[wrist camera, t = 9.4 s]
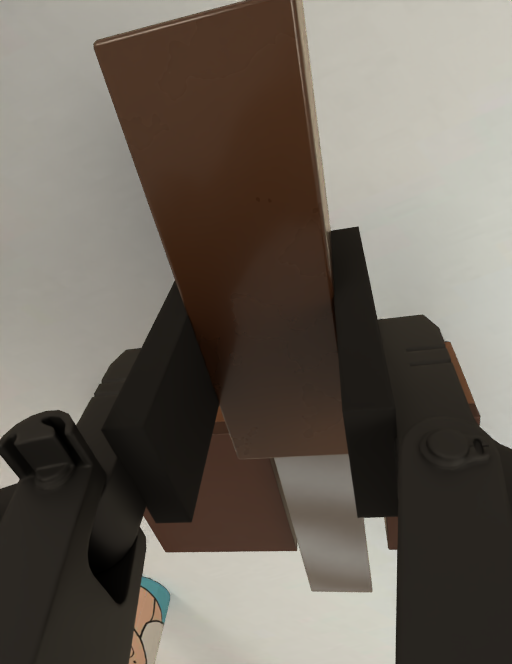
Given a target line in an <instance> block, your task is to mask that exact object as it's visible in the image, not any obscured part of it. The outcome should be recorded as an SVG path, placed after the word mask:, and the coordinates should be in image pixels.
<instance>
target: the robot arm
mask: <svg viewBox="0 0 512 664" xmlns="http://www.w3.org/2000/svg"><path fill="white" fill-rule="evenodd" d="M331 247H332V263H333V279H334V304H335V318H336V332H337V345H338V359H339V373H340V387H341V400H342V413H343V420H344V427H345V434H346V441H347V448H348V455H349V462H350V469H351V476H352V483H353V490H354V497H355V504H356V511H357V518H370V517H398V546H397V606H396V664H512V449H510V448H508V447H506V446H503V445H501V444H499V443H498V442H497V441H495V440H494V439H492V438H491V437H490V436H489V435H488V434H487V433H486V432H485V431H484V430H482V429H481V428H480V427H479V425H478V424H477V422H476V420H475V418H474V416H473V414H472V411H471V409H470V406H469V404H468V401H467V398H466V396H465V393H464V391H463V388H462V386H461V383H460V381H459V378H458V375H457V373H456V370H455V368H454V365H453V363H452V362H451V357H450V355H449V352H448V350H447V348H446V345H445V342H444V339H443V337H442V334H441V332H440V329H439V327H437V326H436V325H435V324H434V323H432V322H431V321H430V320H429V319H428V318H426V317H425V316H424V315H415V316H406V317H397V318H389V319H380V320H377V315H376V310H375V305H374V300H373V295H372V290H371V286H370V281H369V276H368V271H367V266H366V261H365V256H364V251H363V247H362V242H361V237H360V232H359V227H352V228H346V229H339V230H333V231H331ZM218 407H219V402H218V399H217V396H216V393H215V390H214V388H213V385H212V382H211V379H210V376H209V373H208V371H207V368H206V365H205V362H204V359H203V356H202V354H201V351H200V348H199V345H198V342H197V339H196V337H195V334H194V331H193V328H192V325H191V322H190V320H189V317H188V315H187V312H186V309H185V306H184V303H183V301H182V298H181V295H180V292H179V289H178V286H177V284H176V281H174V284H173V286H172V288H171V290H170V292H169V294H168V296H167V298H166V300H165V302H164V304H163V306H162V308H161V310H160V312H159V314H158V316H157V318H156V320H155V322H154V324H153V326H152V328H151V330H150V332H149V334H148V336H147V338H146V340H145V342H144V344H143V346H142V348H138V349H129V350H125V351H124V352H123V353H122V354H121V355H120V356H119V357H118V358H117V359H116V360H115V361H114V362H113V363H112V364H111V365H110V366H109V368H108V370H107V372H106V373H105V375H104V377H103V379H102V384H99V386H98V388H97V389H96V391H95V393H94V397H92V398H91V400H90V402H89V404H88V406H87V407H86V409H85V411H84V413H83V415H82V416H81V418H80V420H79V422H78V423H77V425H75V423H74V422H73V420H72V418H71V417H70V415H69V414H68V413H65V412H63V411H60V410H55V411H45V412H42V413H39V414H36V415H33V416H30V417H29V418H27V419H25V420H23V421H21V422H20V423H18V424H16V425H15V426H14V427H13V428H12V429H10V430H9V431H8V432H7V433H6V434H5V435H3V437H2V438H1V439H0V455H1V456H2V458H3V459H4V460H5V461H6V462H7V464H8V465H9V466H10V467H11V469H12V470H13V471H14V472H15V474H16V475H17V476H18V477H19V479H20V480H19V482H18V483H17V484H14V485H11V486H8V487H5V488H2V489H0V664H129V659H130V653H131V646H132V639H133V633H134V626H135V620H136V613H137V606H138V600H139V593H140V586H141V580H142V573H143V566H144V560H145V553H146V536H145V535H144V533H143V531H142V530H141V528H140V524H141V521H142V518H143V515H144V512H145V509H146V508H147V509H148V511H149V513H150V514H151V516H152V518H153V519H154V521H155V523H190V522H192V520H193V515H194V511H195V507H196V502H197V498H198V494H199V489H200V485H201V481H202V476H203V472H204V468H205V464H206V459H207V455H208V451H209V446H210V442H211V438H212V433H213V429H214V425H215V420H216V416H217V412H218Z"/></svg>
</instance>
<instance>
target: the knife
mask: <svg viewBox="0 0 512 664" xmlns="http://www.w3.org/2000/svg"><path fill="white" fill-rule="evenodd" d="M93 45H94V50H95V53H96V56H97V59H98V62H99V65H100V68H101V70H102V73H103V76H104V79H105V82H106V85H107V87H108V90H109V93H110V96H111V99H112V102H113V104H114V107H115V110H116V113H117V116H118V119H119V122H120V124H121V127H122V130H123V133H124V136H125V139H126V141H127V144H128V147H129V150H130V153H131V156H132V158H133V161H134V164H135V167H136V170H137V173H138V176H139V178H140V181H141V184H142V187H143V190H144V193H145V195H146V198H147V201H148V204H149V207H150V210H151V213H152V215H153V218H154V221H155V224H156V227H157V230H158V232H159V235H160V238H161V241H162V244H163V247H164V249H165V252H166V255H167V258H168V261H169V264H170V267H171V269H172V272H173V275H174V278H175V281H176V284H177V286H178V289H179V292H180V295H181V298H182V301H183V303H184V306H185V309H186V312H187V315H188V317H189V320H190V322H191V325H192V328H193V331H194V334H195V337H196V339H197V342H198V345H199V348H200V351H201V354H202V356H203V359H204V362H205V365H206V368H207V371H208V373H209V376H210V379H211V382H212V385H213V388H214V390H215V393H216V396H217V399H218V402H219V406H220V409H221V412H222V414H223V417H224V420H225V423H226V426H227V429H228V431H229V434H230V437H231V440H232V443H233V446H234V448H235V451H236V454H237V457H238V459H261V458H274V460H275V463H276V467H277V471H278V474H279V478H280V481H281V485H282V488H283V492H284V495H285V499H286V502H287V506H288V509H289V513H290V516H291V520H292V524H293V527H294V531H295V534H296V538H297V541H298V545H299V548H300V552H301V555H302V559H303V562H304V566H305V569H306V573H307V577H308V580H309V584H310V587H311V591H317V592H372V581H371V573H370V565H369V558H368V550H367V542H366V534H365V526H364V518H357V511H356V504H355V497H354V490H353V483H352V476H351V469H350V462H349V455H348V448H347V441H346V434H345V427H344V420H343V413H342V400H341V387H340V373H339V359H338V345H337V332H336V318H335V304H334V279H333V263H332V247H331V229H330V221H329V213H328V205H327V197H326V188H325V180H324V172H323V164H322V156H321V147H320V139H319V131H318V123H317V115H316V107H315V98H314V90H313V82H312V74H311V66H310V57H309V49H308V41H307V33H306V25H305V17H304V8H303V0H245V1H241V2H237V3H233V4H230V5H226V6H222V7H219V8H215V9H211V10H207V11H204V12H200V13H196V14H192V15H189V16H185V17H181V18H177V19H174V20H170V21H166V22H162V23H159V24H155V25H151V26H147V27H144V28H140V29H136V30H132V31H129V32H125V33H121V34H117V35H114V36H110V37H106V38H103V39H99V40H96V41H95V42H94V44H93Z"/></svg>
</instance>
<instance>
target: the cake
mask: <svg viewBox="0 0 512 664" xmlns="http://www.w3.org/2000/svg"><path fill="white" fill-rule="evenodd" d="M143 516H144V517H145V519H146V521H147V522H148V524H149V526H150V527H151V529H152V531H153V532H154V534H155V536H156V537H157V539H158V540H159V542H160V544H161V545H162V547H163V549H164V550H165V552H238V551H297V538H296V534H295V531H294V527H293V524H292V520H291V516H290V513H289V509H288V506H287V502H286V499H285V495H284V492H283V488H282V485H281V481H280V478H279V474H278V471H277V467H276V463H275V460H274V458H261V459H238V457H237V454H236V451H235V448H234V446H233V443H232V440H231V437H230V434H229V431H228V429H227V426H226V423H225V420H224V417H223V414H222V412H221V409H220V406H219V407H218V412H217V416H216V420H215V425H214V429H213V433H212V438H211V442H210V446H209V451H208V455H207V459H206V464H205V468H204V472H203V476H202V481H201V485H200V489H199V494H198V498H197V502H196V507H195V511H194V515H193V520H192V522H190V523H155V521H154V519H153V518H152V516H151V514H150V513H149V511H148V509H147V508H146V509H145V512H144V515H143Z"/></svg>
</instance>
